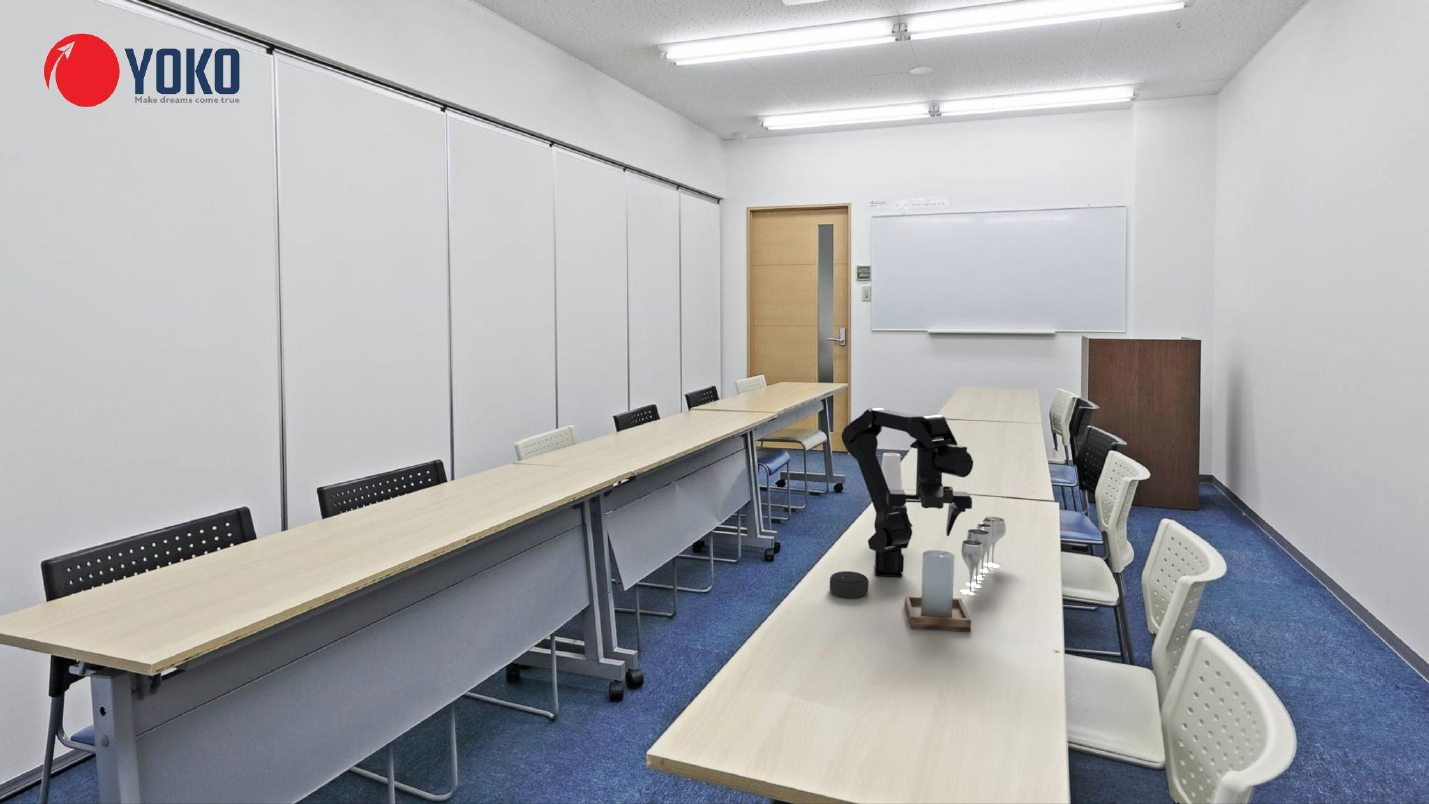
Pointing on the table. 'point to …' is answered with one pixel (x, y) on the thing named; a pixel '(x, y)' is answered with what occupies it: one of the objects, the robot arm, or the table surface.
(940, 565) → the domed blue cylinder
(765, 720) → the table surface
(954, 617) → the tray
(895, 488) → the white tapered column
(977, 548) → the goblet set
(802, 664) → the table surface
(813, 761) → the table surface
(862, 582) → the smart speaker
